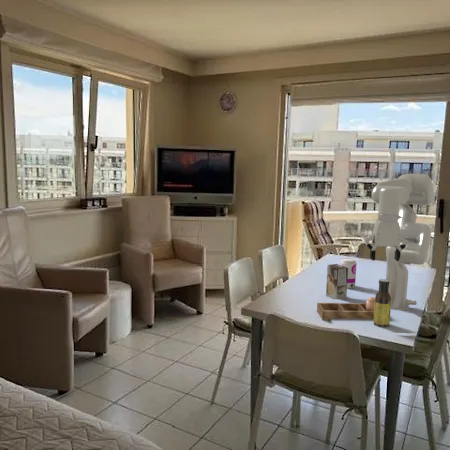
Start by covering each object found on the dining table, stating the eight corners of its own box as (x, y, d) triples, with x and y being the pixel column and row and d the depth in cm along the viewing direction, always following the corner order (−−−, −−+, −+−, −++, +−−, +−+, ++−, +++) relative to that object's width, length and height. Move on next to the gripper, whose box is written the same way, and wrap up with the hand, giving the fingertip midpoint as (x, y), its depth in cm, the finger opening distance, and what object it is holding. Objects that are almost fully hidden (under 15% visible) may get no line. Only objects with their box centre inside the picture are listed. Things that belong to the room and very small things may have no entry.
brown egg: (375, 312, 194) (376, 295, 193) (379, 316, 189) (380, 299, 188) (364, 312, 194) (365, 295, 193) (367, 316, 189) (368, 298, 188)
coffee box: (347, 299, 214) (349, 267, 212) (336, 300, 212) (338, 269, 209) (335, 293, 223) (337, 263, 220) (325, 295, 220) (326, 264, 218)
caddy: (378, 312, 197) (378, 303, 196) (387, 321, 186) (387, 312, 186) (316, 311, 197) (317, 302, 196) (322, 320, 186) (322, 311, 185)
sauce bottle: (391, 329, 177) (395, 282, 174) (376, 329, 176) (380, 282, 173) (385, 323, 183) (388, 278, 180) (370, 323, 183) (374, 278, 180)
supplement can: (357, 286, 236) (359, 259, 234) (350, 289, 230) (352, 262, 228) (344, 283, 242) (345, 257, 240) (336, 286, 236) (338, 259, 234)
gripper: (405, 217, 177) (402, 258, 179) (363, 216, 177) (360, 257, 180) (413, 220, 169) (409, 262, 172) (369, 219, 170) (366, 261, 172)
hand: (384, 260), depth 176 cm, fingers open, 9 cm apart
